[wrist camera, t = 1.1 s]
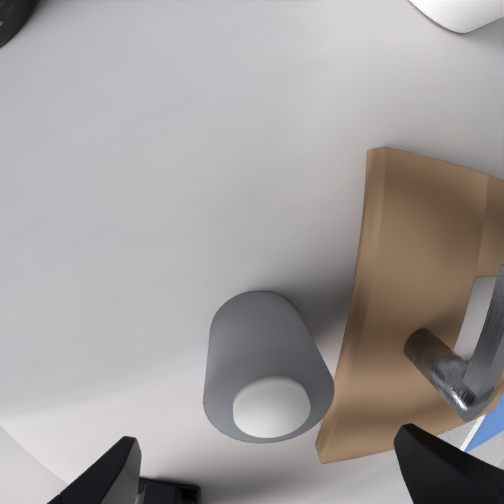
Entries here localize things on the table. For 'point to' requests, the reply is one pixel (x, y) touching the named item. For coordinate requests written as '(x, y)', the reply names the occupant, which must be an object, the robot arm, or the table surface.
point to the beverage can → (461, 12)
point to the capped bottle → (264, 371)
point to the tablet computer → (486, 427)
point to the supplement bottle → (13, 16)
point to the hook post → (456, 368)
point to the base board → (409, 296)
